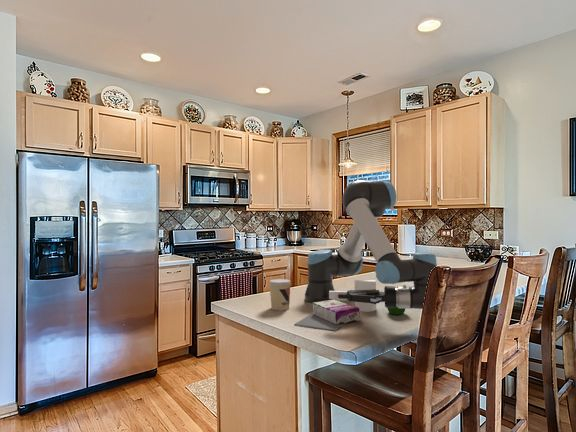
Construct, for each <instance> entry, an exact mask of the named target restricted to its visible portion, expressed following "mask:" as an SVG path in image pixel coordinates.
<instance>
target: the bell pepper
mask: <svg viewBox="0 0 576 432" xmlns="http://www.w3.org/2000/svg"><path fill="white" fill-rule="evenodd" d="M387 311H388V313H389V314H391V315H394V316H395V315H396V316H399V315H401V314H404V313H405V312H406V309H405V308H398V307H397V306H396V307H395V308H387Z"/></svg>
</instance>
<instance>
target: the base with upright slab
mask: <svg viewBox="0 0 576 432" xmlns="http://www.w3.org/2000/svg"><path fill="white" fill-rule="evenodd" d="M372 289H375V290H377V280H375V279H367V280H365V279H364V280H363V279H360V280H357V279H354V290H372ZM354 306H355V307H358V308H359V312H367V313H368V312H375V311H377V304H372V303H363V302H354Z"/></svg>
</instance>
